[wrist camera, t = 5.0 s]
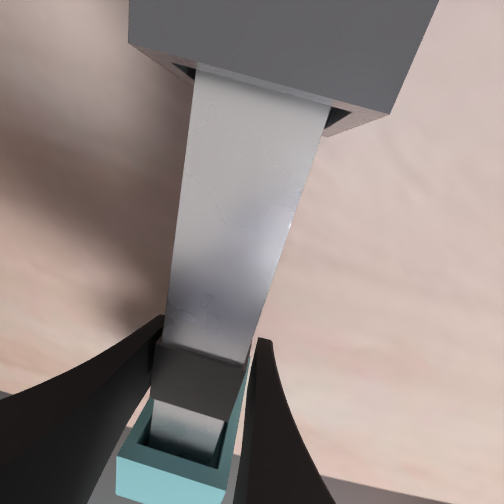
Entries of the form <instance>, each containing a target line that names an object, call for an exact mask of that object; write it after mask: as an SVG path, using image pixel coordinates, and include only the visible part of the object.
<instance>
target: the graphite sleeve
mask: <svg viewBox="0 0 504 504" xmlns="http://www.w3.org/2000/svg"><path fill="white" fill-rule="evenodd" d="M438 2H439V0H129V27H128V43H129V44H130V45H132V46H133V47H135V48H136V49H138V50H139V51H141V52H142V53H144V54H145V55H147V56H148V57H149V58H151V59H152V60H154V61H155V62H157V63H158V64H160V65H161V66H163V67H164V68H166V69H167V70H168V71H170V72H171V73H173V74H174V75H176V76H177V77H179V78H180V79H182V80H183V81H185V82H186V83H188V84H189V85H190V86H192V87H193V88H194V84H195V76H196V69H198V70H201V71H205V72H209V73H212V74H216V75H219V76H223V77H227V78H230V79H234V80H238V81H241V82H245V83H249V84H252V85H256V86H260V87H263V88H267V89H270V90H274V91H278V92H281V93H285V94H289V95H292V96H296V97H300V98H303V99H307V100H310V101H314V102H318V103H321V104H325V105H329V106H331V109H330V111H329V114H328V117H327V120H326V123H325V126H324V129H323V132H322V135H321V136H324V137H330V136H333V135H336V134H338V133H341V132H344V131H346V130H349V129H352V128H354V127H357V126H360V125H363V124H365V123H368V122H371V121H373V120H376V119H379V118H382V117H384V116H387V115H390V112H391V110H392V108H393V105H394V103H395V101H396V98H397V96H398V94H399V92H400V89H401V87H402V85H403V82H404V80H405V78H406V75H407V73H408V71H409V69H410V66H411V64H412V62H413V59H414V57H415V55H416V52H417V50H418V48H419V45H420V43H421V41H422V39H423V36H424V34H425V32H426V29H427V27H428V25H429V22H430V20H431V18H432V16H433V13H434V11H435V9H436V6H437V4H438Z"/></svg>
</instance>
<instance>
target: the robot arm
mask: <svg viewBox="0 0 504 504" xmlns="http://www.w3.org/2000/svg"><path fill="white" fill-rule="evenodd" d="M164 320H165V315H162V314H160V315H158V316H157V317H155V318H154V319H153V320H151V321H150V322H148V323H147V324H145V325H144V326H142V327H141V328H140V329H138V330H137V331H135V332H134V333H132V334H131V335H129V336H128V337H126V338H125V339H123V340H122V341H120V342H119V343H117V344H115V345H114V346H112V347H110V348H109V349H107V350H105V351H104V352H102V353H100V354H99V355H97V356H95V357H94V358H92V359H90V360H88V361H86V362H84V363H83V364H81V365H79V366H77V367H75V368H73V369H71V370H69V371H67V372H65V373H63V374H61V375H58V376H56V377H54V378H52V379H50V380H47V381H45V382H43V383H41V384H39V385H36V386H34V387H32V388H29V389H27V390H24V391H22V392H19V393H17V394H14V395H12V396H9V397H7V398H4V399H1V400H0V504H87V502H88V500H89V498H90V496H91V494H92V492H93V490H94V487H95V486H96V484H97V482H98V479H99V477H100V476H101V474H102V472H103V469H104V467H105V466H106V463H107V461H108V459H109V458H110V456H111V453H112V451H113V450H114V448H115V446H116V444H117V442H118V440H119V438H120V436H121V434H122V432H123V430H124V428H125V426H126V425H127V423H128V421H129V419H130V418H131V416H132V414H133V413H134V411H135V409H136V408H137V406H138V405H139V403H140V402H141V400H142V398H143V397H144V395H145V394H146V392H147V390H148V389H149V387H150V386H151V380H152V371H153V362H154V353H155V344H156V342H157V341H158V339H159V338H160V337H161V335H162V334H163V328H164ZM233 504H336V503H335V501H334V500H333V498H332V496H331V494H330V493H329V491H328V489H327V487H326V485H325V484H324V482H323V480H322V478H321V476H320V474H319V472H318V470H317V468H316V466H315V464H314V462H313V460H312V458H311V456H310V454H309V452H308V450H307V448H306V446H305V444H304V442H303V440H302V438H301V435H300V433H299V431H298V429H297V426H296V424H295V421H294V419H293V416H292V414H291V411H290V409H289V406H288V403H287V400H286V397H285V394H284V391H283V388H282V385H281V381H280V378H279V374H278V370H277V366H276V362H275V357H274V351H273V342H272V341H271V340H268V339H264V338H260V337H258V341H257V345H256V349H255V353H254V358H253V362H252V366H251V371H250V377H249V382H248V388H247V397H246V408H245V419H244V430H243V441H242V450H241V457H240V464H239V469H238V476H237V482H236V487H235V493H234V500H233Z"/></svg>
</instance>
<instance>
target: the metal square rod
mask: <svg viewBox="0 0 504 504" xmlns="http://www.w3.org/2000/svg"><path fill="white" fill-rule="evenodd" d="M330 109H331V106H329V105H325V104H321V103H318V102H314V101H310V100H307V99H303V98H300V97H296V96H292V95H289V94H285V93H281V92H278V91H274V90H270V89H267V88H263V87H260V86H256V85H252V84H249V83H245V82H241V81H238V80H234V79H230V78H227V77H223V76H219V75H216V74H212V73H209V72H205V71H201V70H198V69H196V76H195V84H194V92H193V99H192V107H191V115H190V123H189V131H188V139H187V147H186V155H185V162H184V170H183V178H182V186H181V194H180V202H179V210H178V218H177V225H176V233H175V241H174V249H173V257H172V265H171V273H170V281H169V288H168V296H167V304H166V312H165V320H164V328H163V334H162V335H161V337H160V338H159V339H158V341H157V342H156V344H155V353H154V362H153V371H152V380H151V389H150V397H149V398H152V399H154V407H153V414H152V422H151V430H150V438H149V446H148V447H149V448H152V449H155V450H158V451H162V452H165V453H168V454H171V455H174V456H177V457H180V458H183V459H186V460H190V461H193V462H196V463H199V464H202V465H205V466H208V467H209V465H210V462H211V459H212V456H213V453H214V450H215V447H216V444H217V441H218V438H219V435H220V432H221V429H222V426H223V423H224V421H225V422H229V419H230V416H231V413H232V410H233V407H234V405H235V402H236V399H237V396H238V393H239V390H240V388H241V385H242V382H243V379H244V376H245V373H246V370H247V364H248V359H249V354H250V349H251V343H252V338H253V335H254V332H255V329H256V326H257V323H258V320H259V317H260V314H261V312H262V309H263V306H264V303H265V300H266V297H267V294H268V291H269V288H270V285H271V282H272V279H273V276H274V273H275V270H276V267H277V264H278V262H279V259H280V256H281V253H282V250H283V247H284V244H285V241H286V238H287V235H288V232H289V229H290V226H291V223H292V220H293V217H294V214H295V212H296V209H297V206H298V203H299V200H300V197H301V194H302V191H303V188H304V185H305V182H306V179H307V176H308V173H309V170H310V167H311V164H312V162H313V159H314V156H315V153H316V150H317V147H318V144H319V141H320V138H321V135H322V132H323V129H324V126H325V123H326V120H327V117H328V114H329V111H330Z"/></svg>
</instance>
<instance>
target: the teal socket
mask: <svg viewBox="0 0 504 504" xmlns="http://www.w3.org/2000/svg"><path fill="white" fill-rule="evenodd" d="M249 362H250V357H249V359H248V364H247V370H246V373H245V376H244V379H243V382H242V385H241V388H240V390H239V393H238V396H237V399H236V402H235V405H234V407H233V410H232V413H231V416H230V419H229V422H225V421H224V423H223V426H222V429H221V432H220V435H219V438H218V441H217V444H216V447H215V450H214V453H213V456H212V459H211V462H210V465H209V467H208V466H205V465H202V464H199V463H196V462H193V461H190V460H186V459H183V458H180V457H177V456H174V455H171V454H168V453H165V452H162V451H158V450H155V449H152V448H149V447H148V446H149V438H150V430H151V422H152V414H153V407H154V399H152V398H149V400H148V401H147V403H146V405H145V407H144V408H143V410H142V412H141V414H140V415H139V417H138V419H137V421H136V423H135V424H134V426H133V428H132V430H131V431H130V433H129V435H128V437H127V439H126V440H125V442H124V444H123V446H122V447H121V449H120V451H119V453H118V455H117V466H116V495H120V496H123V497H126V498H129V499H132V500H135V501H138V502H141V503H144V504H221V501H222V499H223V497H224V495H225V492H226V488H227V483H228V477H229V472H230V466H231V461H232V455H233V450H234V445H235V439H236V434H237V428H238V423H239V417H240V412H241V406H242V401H243V395H244V390H245V384H246V379H247V373H248V368H249Z"/></svg>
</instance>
